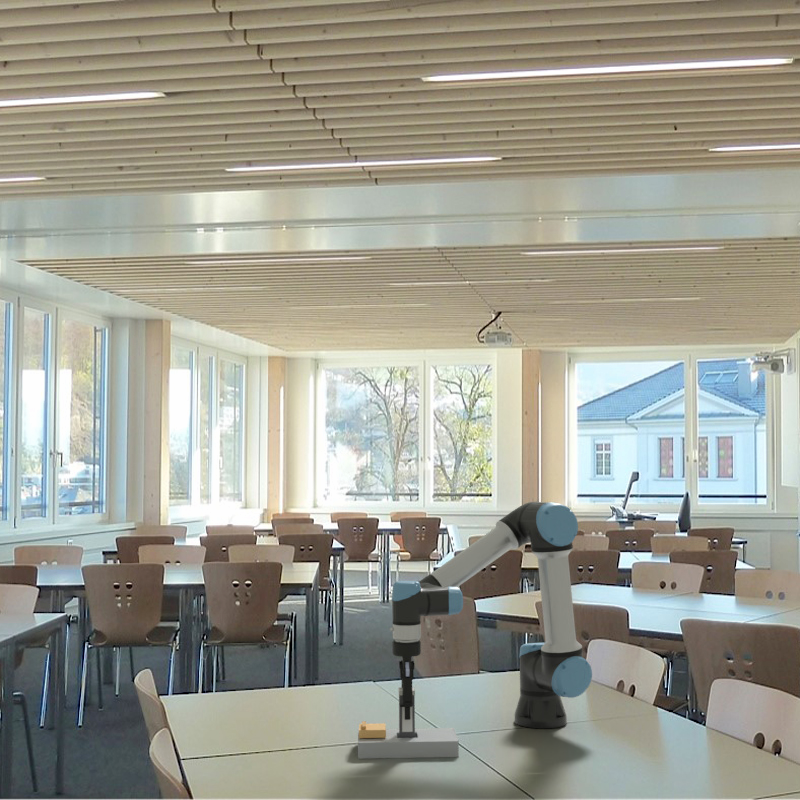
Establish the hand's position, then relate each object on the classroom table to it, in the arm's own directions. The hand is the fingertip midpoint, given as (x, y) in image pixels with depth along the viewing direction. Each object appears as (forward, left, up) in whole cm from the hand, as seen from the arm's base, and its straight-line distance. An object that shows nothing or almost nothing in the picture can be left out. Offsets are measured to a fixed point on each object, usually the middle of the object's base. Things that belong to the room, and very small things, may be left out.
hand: (407, 729), depth 286 cm
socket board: (0, 0, -6) cm, 6 cm away
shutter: (+9, 0, -1) cm, 9 cm away
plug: (0, 0, -2) cm, 2 cm away
